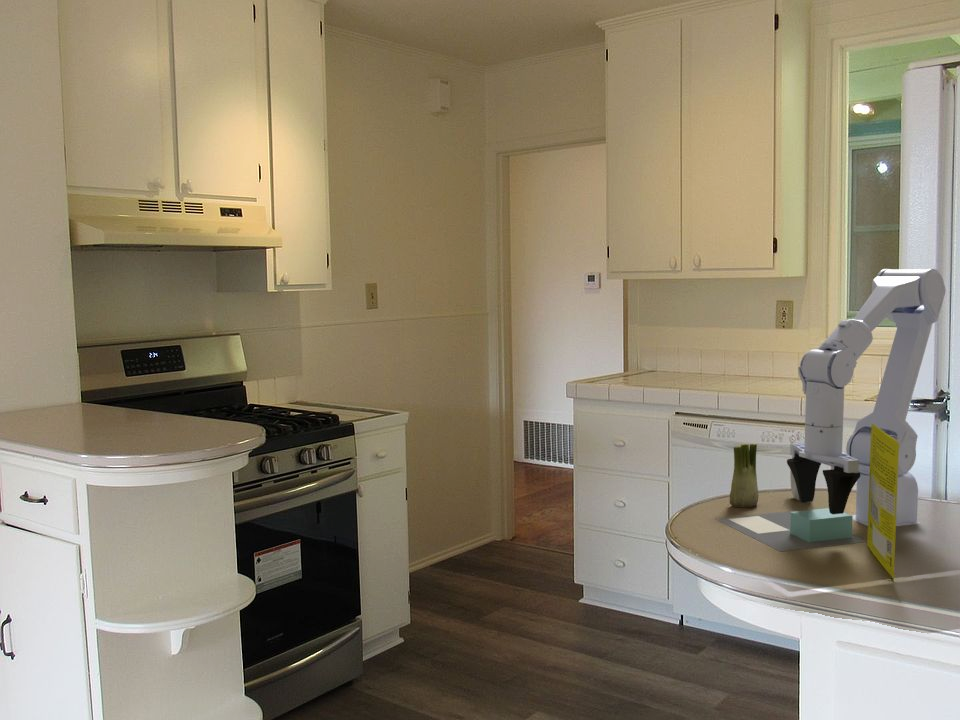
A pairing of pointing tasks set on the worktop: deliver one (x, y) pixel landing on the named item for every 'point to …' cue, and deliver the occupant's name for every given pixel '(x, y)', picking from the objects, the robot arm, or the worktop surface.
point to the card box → (820, 525)
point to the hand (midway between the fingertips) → (821, 507)
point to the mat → (778, 531)
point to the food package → (883, 497)
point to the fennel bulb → (744, 477)
